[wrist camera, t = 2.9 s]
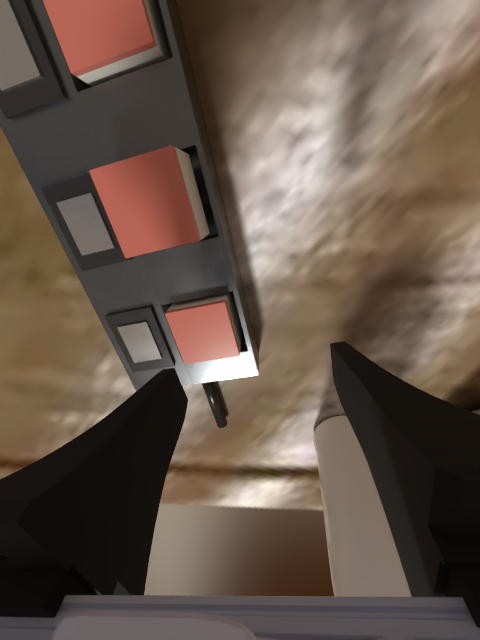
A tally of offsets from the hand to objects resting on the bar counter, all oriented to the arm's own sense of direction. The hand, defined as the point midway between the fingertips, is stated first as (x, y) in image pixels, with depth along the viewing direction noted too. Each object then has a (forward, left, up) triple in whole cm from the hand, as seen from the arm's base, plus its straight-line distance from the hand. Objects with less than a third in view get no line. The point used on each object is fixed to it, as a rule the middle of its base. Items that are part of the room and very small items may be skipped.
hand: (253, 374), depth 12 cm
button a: (-4, 0, -8) cm, 9 cm away
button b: (-4, +8, -6) cm, 10 cm away
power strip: (-6, +4, -9) cm, 11 cm away
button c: (-4, +16, -8) cm, 18 cm away
